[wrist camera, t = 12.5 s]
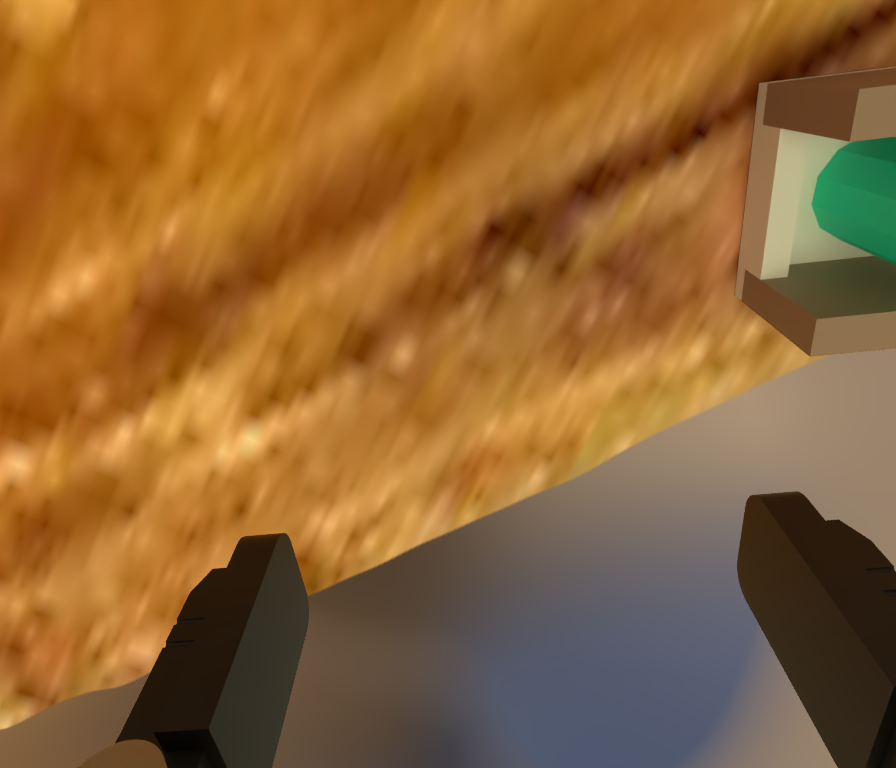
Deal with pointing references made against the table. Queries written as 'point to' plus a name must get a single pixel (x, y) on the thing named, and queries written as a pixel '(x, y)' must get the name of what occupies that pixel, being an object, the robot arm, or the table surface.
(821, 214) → the candle
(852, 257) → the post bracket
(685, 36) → the table surface
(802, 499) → the robot arm
